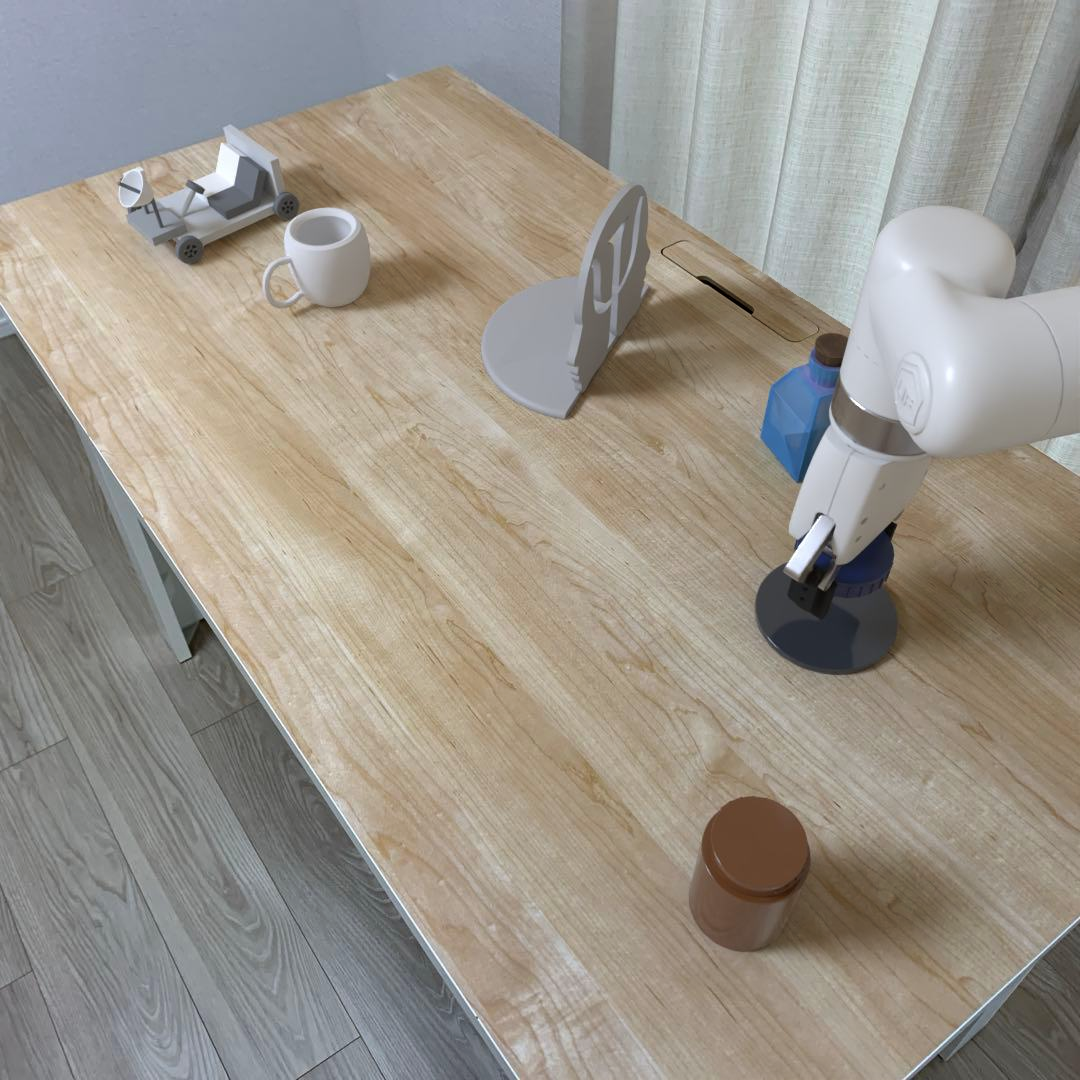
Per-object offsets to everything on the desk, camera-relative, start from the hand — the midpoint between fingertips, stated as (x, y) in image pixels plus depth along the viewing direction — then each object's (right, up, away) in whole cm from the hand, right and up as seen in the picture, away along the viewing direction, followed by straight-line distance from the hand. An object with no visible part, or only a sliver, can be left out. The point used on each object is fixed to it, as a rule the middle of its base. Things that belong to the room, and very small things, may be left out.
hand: (836, 576), depth 79 cm
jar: (-9, -21, -11) cm, 25 cm away
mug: (-45, +28, +31) cm, 61 cm away
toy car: (-60, +39, +40) cm, 82 cm away
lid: (0, +2, -2) cm, 3 cm away
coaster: (0, -3, +4) cm, 5 cm away
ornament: (-21, +23, +27) cm, 41 cm away
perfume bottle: (+2, +11, +16) cm, 19 cm away
